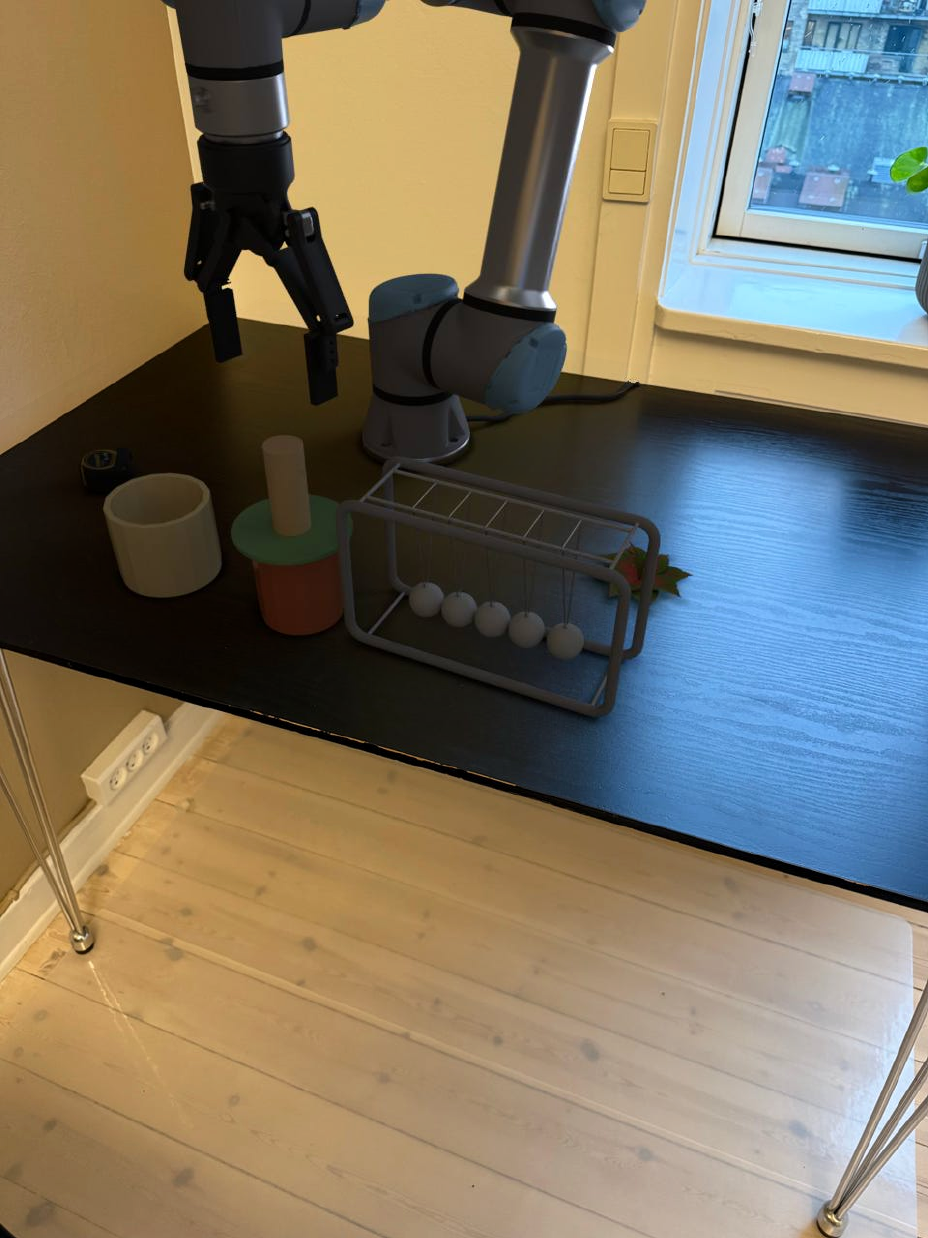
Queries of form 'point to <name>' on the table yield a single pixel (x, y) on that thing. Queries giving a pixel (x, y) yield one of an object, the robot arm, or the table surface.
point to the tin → (164, 534)
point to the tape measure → (106, 469)
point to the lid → (287, 512)
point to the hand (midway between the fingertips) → (275, 378)
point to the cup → (300, 595)
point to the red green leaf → (633, 572)
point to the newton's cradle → (493, 615)
